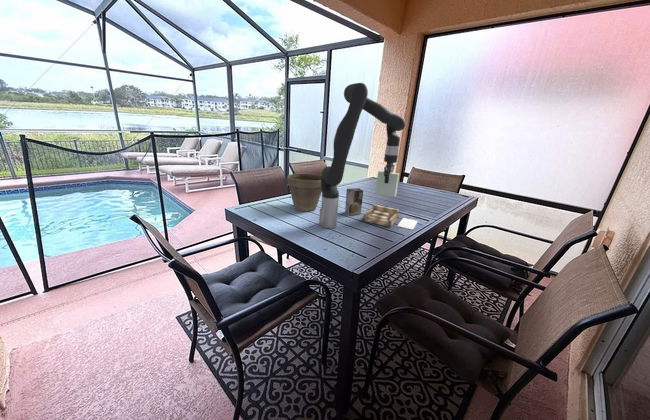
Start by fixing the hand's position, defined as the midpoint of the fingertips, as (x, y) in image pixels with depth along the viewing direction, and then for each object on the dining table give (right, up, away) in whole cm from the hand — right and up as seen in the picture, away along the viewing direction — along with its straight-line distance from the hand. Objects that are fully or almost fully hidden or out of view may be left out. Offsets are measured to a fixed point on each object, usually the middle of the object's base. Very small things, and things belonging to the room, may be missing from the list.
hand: (387, 182), depth 152 cm
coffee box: (-19, -19, +13) cm, 30 cm away
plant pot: (-51, -16, +18) cm, 56 cm away
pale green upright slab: (0, -7, +3) cm, 8 cm away
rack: (-3, -23, +5) cm, 23 cm away
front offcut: (-5, -24, +1) cm, 25 cm away
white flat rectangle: (+12, -25, 0) cm, 28 cm away
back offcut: (-3, -23, +4) cm, 24 cm away
